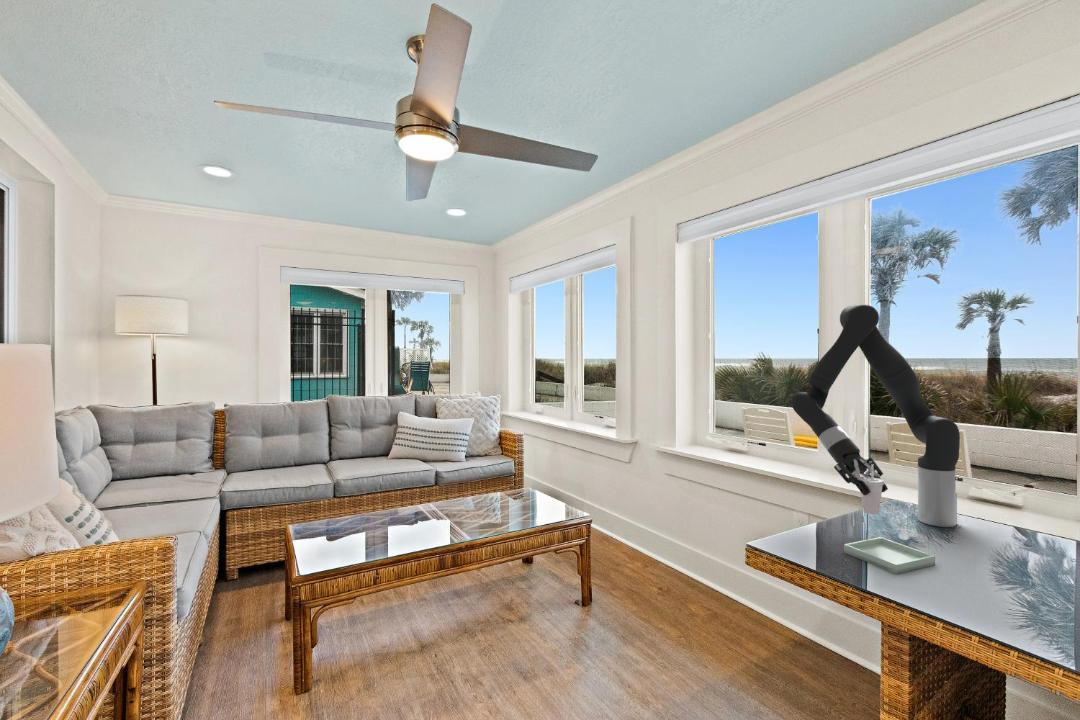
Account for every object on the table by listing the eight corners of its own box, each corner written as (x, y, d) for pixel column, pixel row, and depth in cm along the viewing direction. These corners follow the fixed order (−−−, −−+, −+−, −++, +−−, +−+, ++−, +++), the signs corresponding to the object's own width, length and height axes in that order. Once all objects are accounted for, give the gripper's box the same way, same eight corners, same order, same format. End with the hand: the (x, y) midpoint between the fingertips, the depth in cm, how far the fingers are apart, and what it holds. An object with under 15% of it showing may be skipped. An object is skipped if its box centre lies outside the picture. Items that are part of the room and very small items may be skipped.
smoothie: (890, 515, 141) (888, 467, 140) (867, 516, 141) (866, 467, 140) (875, 508, 147) (874, 461, 147) (853, 509, 147) (852, 462, 147)
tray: (880, 544, 138) (880, 536, 138) (935, 564, 125) (935, 556, 125) (844, 552, 133) (843, 544, 133) (896, 573, 120) (896, 564, 120)
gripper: (828, 439, 148) (867, 488, 137) (863, 435, 153) (903, 482, 142) (814, 453, 153) (849, 502, 142) (848, 449, 158) (885, 495, 147)
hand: (876, 492), depth 142 cm, fingers closed on smoothie, 6 cm apart
